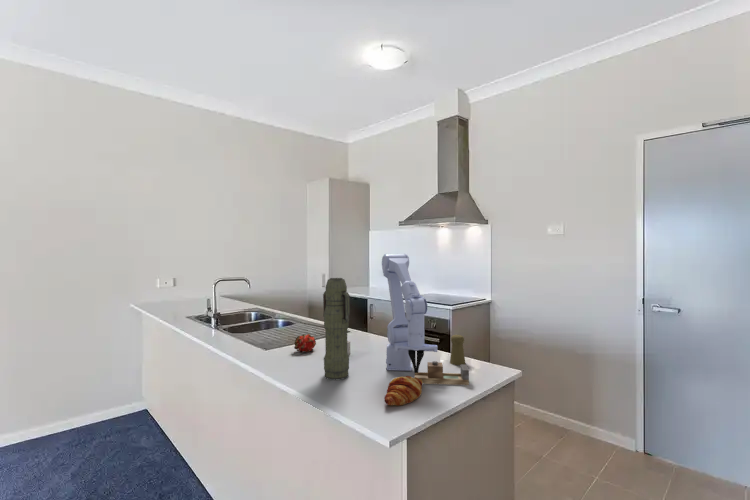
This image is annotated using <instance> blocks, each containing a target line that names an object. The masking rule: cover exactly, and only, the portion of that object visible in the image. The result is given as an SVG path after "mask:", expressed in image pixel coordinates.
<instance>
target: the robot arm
mask: <svg viewBox="0 0 750 500" xmlns="http://www.w3.org/2000/svg"><path fill="white" fill-rule="evenodd" d="M381 258H382V259H381V268H382V274H383V277H385V278H386V279H387V284H388V290H389V296H390V306H391V311H392V320H391V321H390V322H389V323H388V324H387V326H386V328H387V331H386V334H387V335H386V336H387V340H388V341H387V342H388V343H387V344H386V359H385V363H386V370H387V371H405V372H409V371H410V372H412V371H413V373H414V374H415V373H418V372H419V369H420V365H421V362H422V360H423V357H424V355H425V352H434V353H438V345H437V344H427V343H425V315H426V314H427V311H428V302H427V299H426V298H425V297H423V295H421V294H420V291H419V289H418V286H417V284H416V282H414V281H412V279H411V276H410V272H409V266H410V257H409V256H408V253H396V254H391V253H390V254H389V253H388V254H387V253H384V254H383V256H382V257H381ZM404 302H405V303H404Z"/></svg>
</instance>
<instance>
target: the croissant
mask: <svg viewBox="0 0 750 500" xmlns="http://www.w3.org/2000/svg"><path fill="white" fill-rule="evenodd" d="M423 385H424V384H423V381H422V380H421V379H420V380H419V379H418V378H416V377H415V376H414V377H413V376H410V375H406V376H398V377H394V378H393V379H391V381H390V382H389V383H388V385H387V389H386V393H385V395H384V398H383V399H384V400H383V402H384V403H385V405H387V406H404V405H407V404H410V403H413V401H416V400H417V399H418V398H420V396H422V390H423Z"/></svg>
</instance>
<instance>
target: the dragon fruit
mask: <svg viewBox="0 0 750 500" xmlns="http://www.w3.org/2000/svg"><path fill="white" fill-rule="evenodd" d="M316 345H317V341H316V339H315V337H314V335H313V336H312V335H311V334H310V333H307V334H302V335H297V337H296V338H295V340H294V347H293V348H294V349H295V350H296V351H297V352H299V353H301V354H302V353H304V352H305V353H310V352H312V351H314V348H315V347H316Z"/></svg>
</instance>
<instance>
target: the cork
mask: <svg viewBox="0 0 750 500" xmlns="http://www.w3.org/2000/svg"><path fill="white" fill-rule="evenodd" d="M450 341H451V342H450V343H451V350H450V360H449V364H451V365H455V366H461V364H463V365H466V358H465V357H466V356H465V352H464V350H465V349H464V343H465V337H464V335H461V334H453V335H451V337H450Z"/></svg>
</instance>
